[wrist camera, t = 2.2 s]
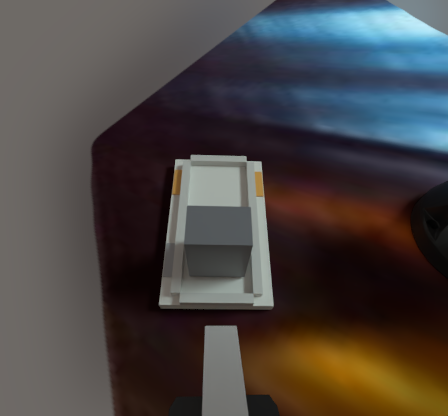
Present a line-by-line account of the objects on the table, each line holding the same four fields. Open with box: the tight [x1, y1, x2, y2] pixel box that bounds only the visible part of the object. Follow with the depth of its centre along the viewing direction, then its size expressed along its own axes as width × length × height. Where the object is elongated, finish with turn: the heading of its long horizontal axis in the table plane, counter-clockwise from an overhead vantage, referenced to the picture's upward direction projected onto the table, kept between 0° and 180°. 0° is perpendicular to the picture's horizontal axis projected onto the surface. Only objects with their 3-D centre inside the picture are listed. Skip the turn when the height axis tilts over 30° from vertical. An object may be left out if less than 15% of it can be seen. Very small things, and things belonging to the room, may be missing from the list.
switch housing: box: [159, 155, 274, 310], centre depth 37 cm, size 20×12×2 cm, turn 0°
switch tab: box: [184, 206, 253, 277], centre depth 31 cm, size 4×6×8 cm, turn 90°
